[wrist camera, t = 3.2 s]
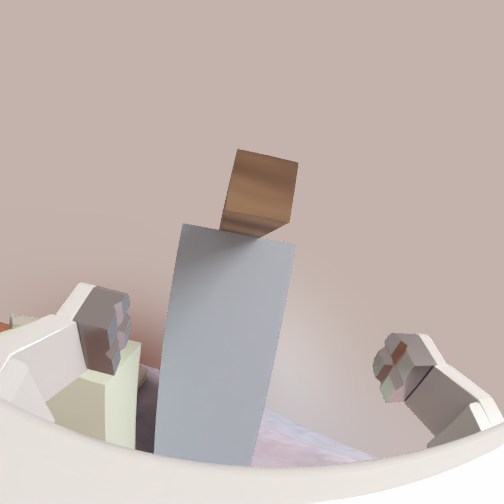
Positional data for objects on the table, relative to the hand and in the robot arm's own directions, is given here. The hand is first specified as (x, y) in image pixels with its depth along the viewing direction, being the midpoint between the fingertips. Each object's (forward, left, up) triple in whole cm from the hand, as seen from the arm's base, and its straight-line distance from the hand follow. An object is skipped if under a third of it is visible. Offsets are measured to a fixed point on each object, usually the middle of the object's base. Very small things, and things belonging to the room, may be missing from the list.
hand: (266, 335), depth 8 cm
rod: (-17, +10, +5) cm, 21 cm away
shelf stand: (-22, +13, -21) cm, 33 cm away
